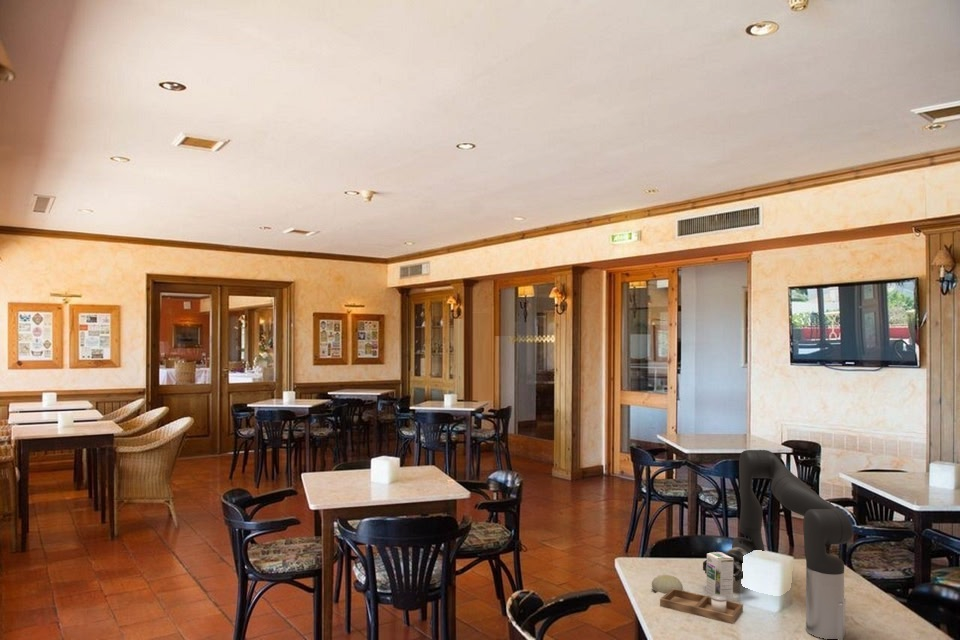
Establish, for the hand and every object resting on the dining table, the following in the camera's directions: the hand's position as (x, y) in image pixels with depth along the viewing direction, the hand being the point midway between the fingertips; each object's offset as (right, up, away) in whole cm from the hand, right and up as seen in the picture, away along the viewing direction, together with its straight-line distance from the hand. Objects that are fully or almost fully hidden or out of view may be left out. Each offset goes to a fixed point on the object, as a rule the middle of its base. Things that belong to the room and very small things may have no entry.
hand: (721, 574), depth 204 cm
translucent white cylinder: (-5, -6, -12) cm, 14 cm away
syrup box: (-1, -8, -2) cm, 8 cm away
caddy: (-9, -7, -9) cm, 15 cm away
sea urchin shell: (-15, -8, +7) cm, 18 cm away
